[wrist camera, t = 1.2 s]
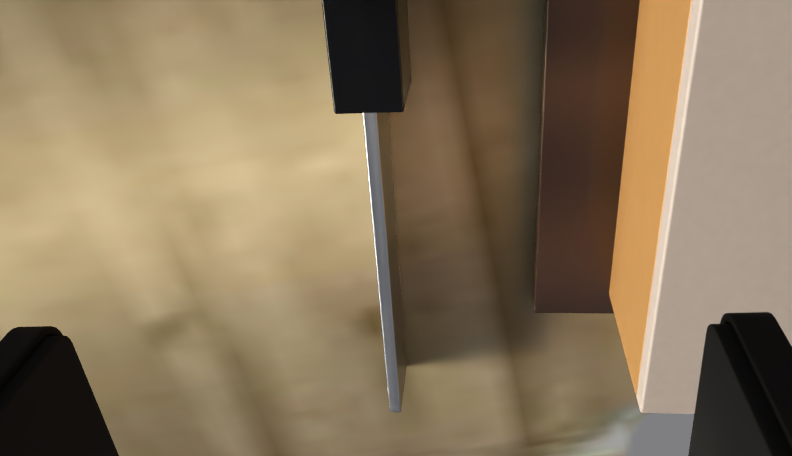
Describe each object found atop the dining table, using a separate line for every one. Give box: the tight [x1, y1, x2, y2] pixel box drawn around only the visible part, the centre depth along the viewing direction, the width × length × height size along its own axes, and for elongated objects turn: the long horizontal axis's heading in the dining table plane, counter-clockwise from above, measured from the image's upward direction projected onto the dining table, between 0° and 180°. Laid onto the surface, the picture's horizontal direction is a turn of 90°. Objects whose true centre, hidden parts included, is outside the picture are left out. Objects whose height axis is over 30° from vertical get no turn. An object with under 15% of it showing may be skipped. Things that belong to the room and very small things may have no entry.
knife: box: [322, 0, 411, 412], centre depth 27 cm, size 24×2×3 cm, turn 4°
